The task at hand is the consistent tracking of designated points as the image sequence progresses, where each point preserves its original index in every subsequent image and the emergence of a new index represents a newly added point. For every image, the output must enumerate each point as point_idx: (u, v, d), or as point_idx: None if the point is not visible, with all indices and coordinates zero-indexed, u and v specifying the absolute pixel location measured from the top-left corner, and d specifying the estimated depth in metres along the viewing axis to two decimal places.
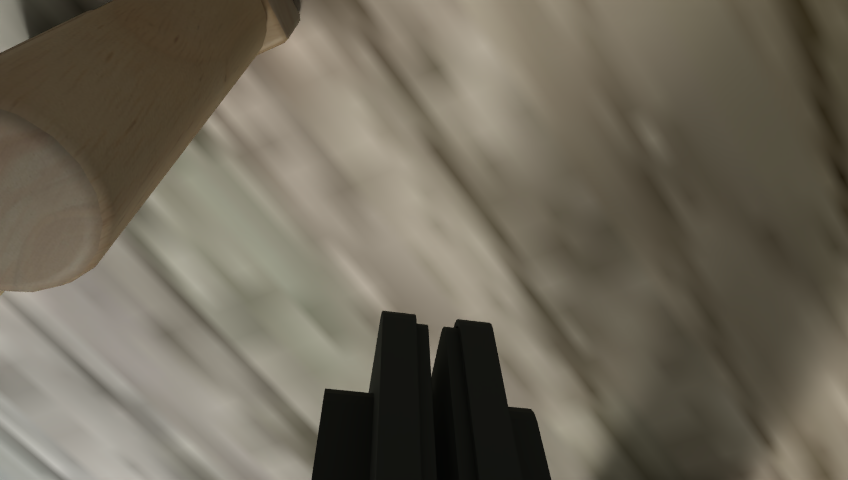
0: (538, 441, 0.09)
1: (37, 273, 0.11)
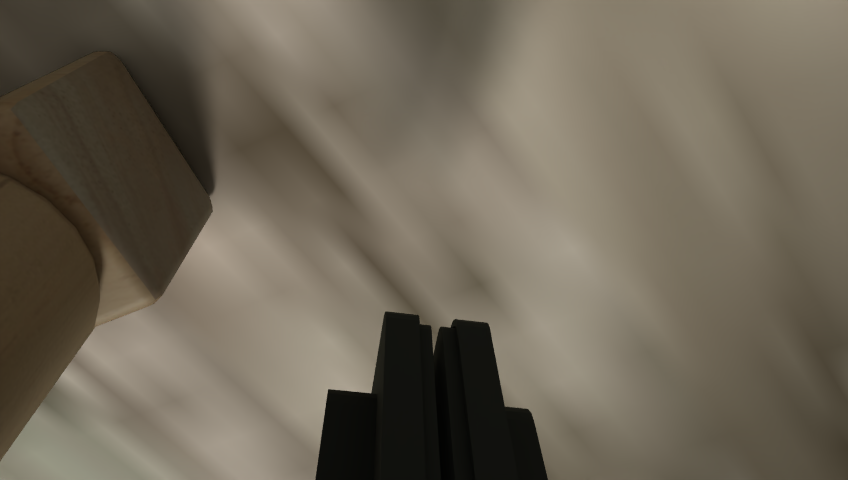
0: (536, 440, 0.09)
1: None
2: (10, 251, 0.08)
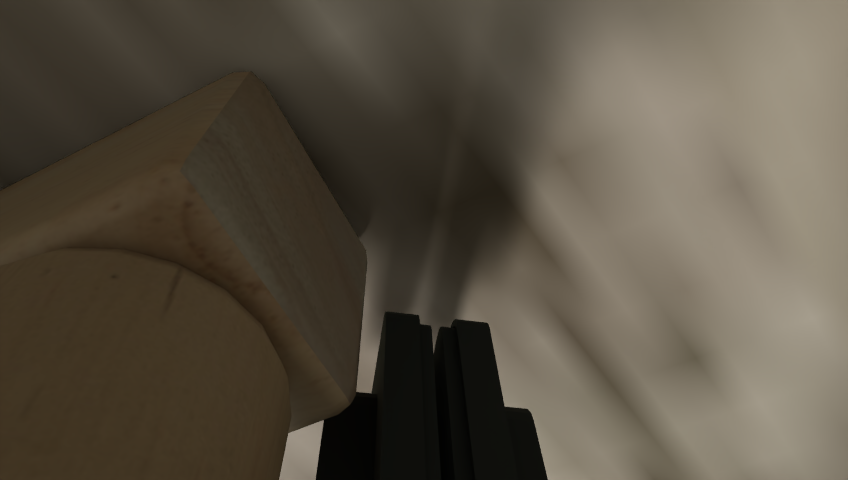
0: (536, 440, 0.09)
1: None
2: (212, 388, 0.05)
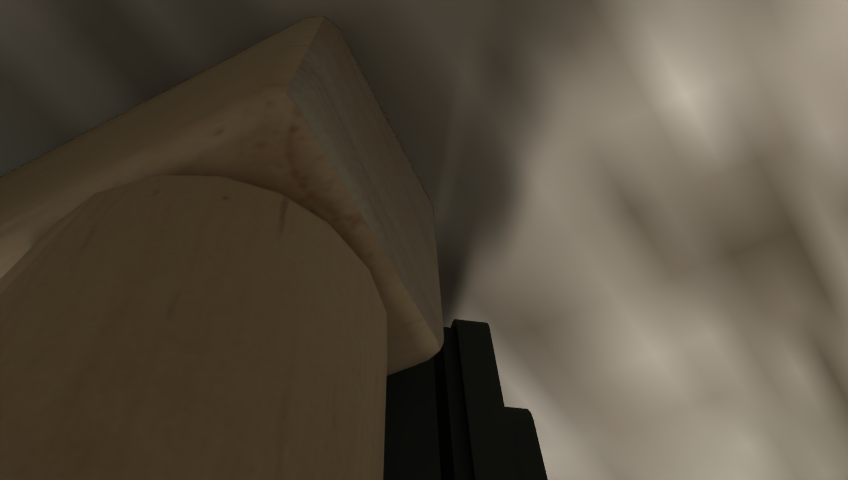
0: (535, 440, 0.09)
1: None
2: (334, 309, 0.05)
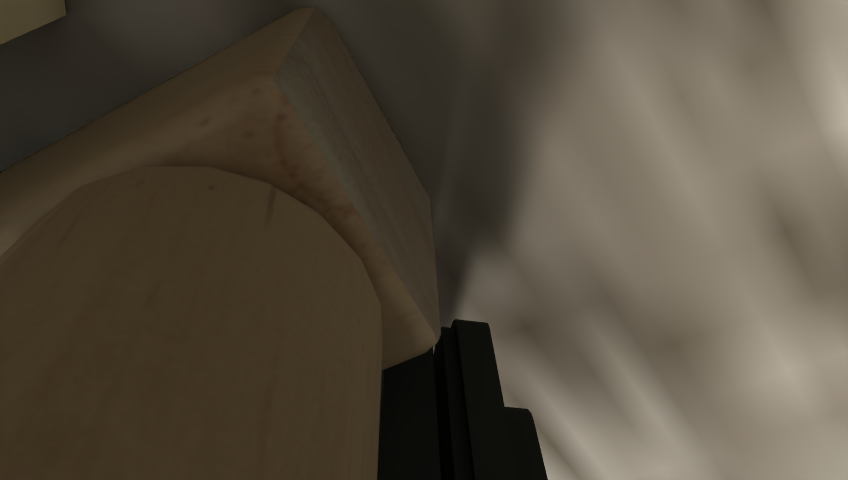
0: (536, 439, 0.09)
1: None
2: (323, 298, 0.05)
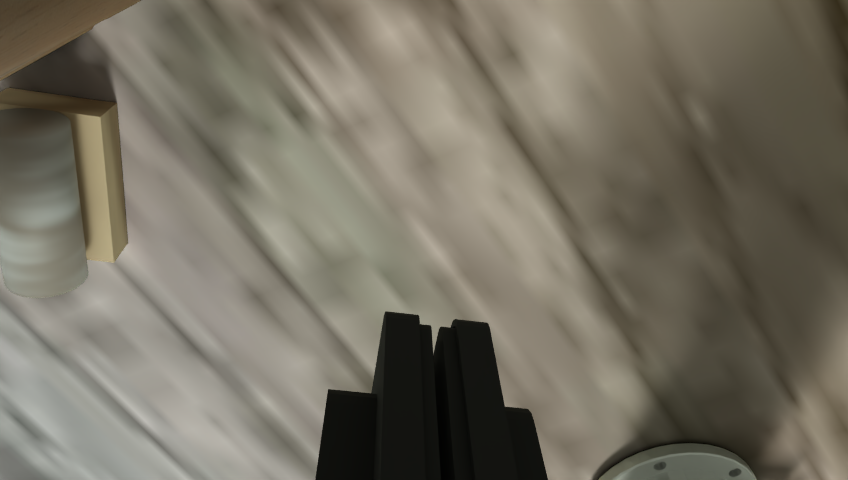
0: (536, 440, 0.09)
1: None
2: None
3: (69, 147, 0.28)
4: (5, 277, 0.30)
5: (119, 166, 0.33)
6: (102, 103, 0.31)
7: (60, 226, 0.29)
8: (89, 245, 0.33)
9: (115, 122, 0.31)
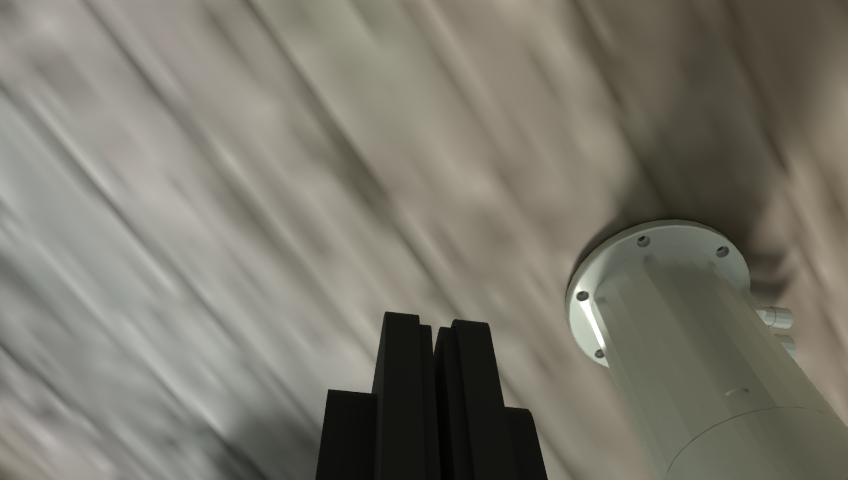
0: (536, 440, 0.09)
1: None
2: None
3: None
4: None
5: None
6: None
7: None
8: None
9: None
